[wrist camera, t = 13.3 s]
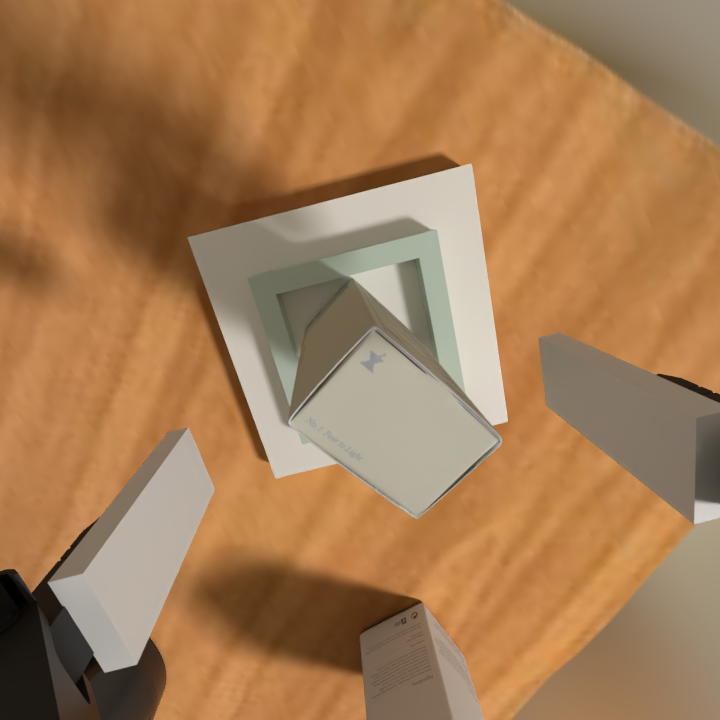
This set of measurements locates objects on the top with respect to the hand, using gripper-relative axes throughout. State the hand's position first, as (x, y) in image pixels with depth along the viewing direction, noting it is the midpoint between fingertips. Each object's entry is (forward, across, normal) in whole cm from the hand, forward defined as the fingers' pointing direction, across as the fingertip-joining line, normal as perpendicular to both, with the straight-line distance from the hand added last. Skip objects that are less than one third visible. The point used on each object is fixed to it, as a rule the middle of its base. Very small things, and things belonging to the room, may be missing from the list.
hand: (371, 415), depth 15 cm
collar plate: (+12, 0, 0) cm, 12 cm away
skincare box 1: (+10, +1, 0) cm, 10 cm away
